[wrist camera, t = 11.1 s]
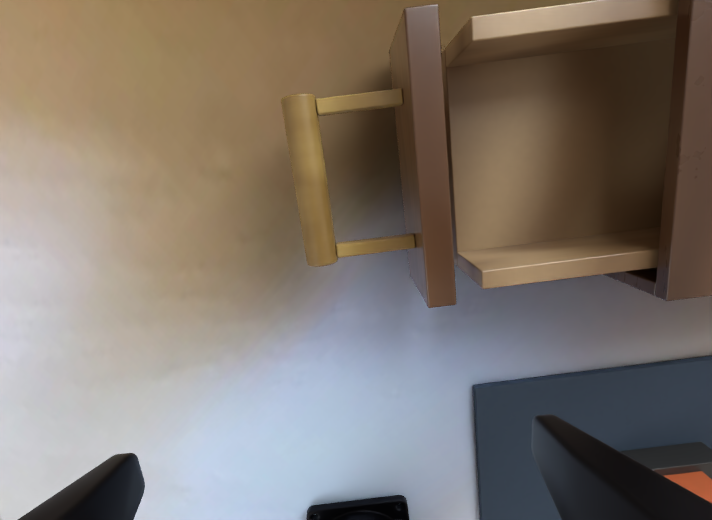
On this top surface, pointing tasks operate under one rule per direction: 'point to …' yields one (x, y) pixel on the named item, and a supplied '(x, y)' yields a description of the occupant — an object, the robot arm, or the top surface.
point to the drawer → (512, 145)
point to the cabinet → (686, 168)
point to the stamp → (680, 465)
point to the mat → (583, 423)
